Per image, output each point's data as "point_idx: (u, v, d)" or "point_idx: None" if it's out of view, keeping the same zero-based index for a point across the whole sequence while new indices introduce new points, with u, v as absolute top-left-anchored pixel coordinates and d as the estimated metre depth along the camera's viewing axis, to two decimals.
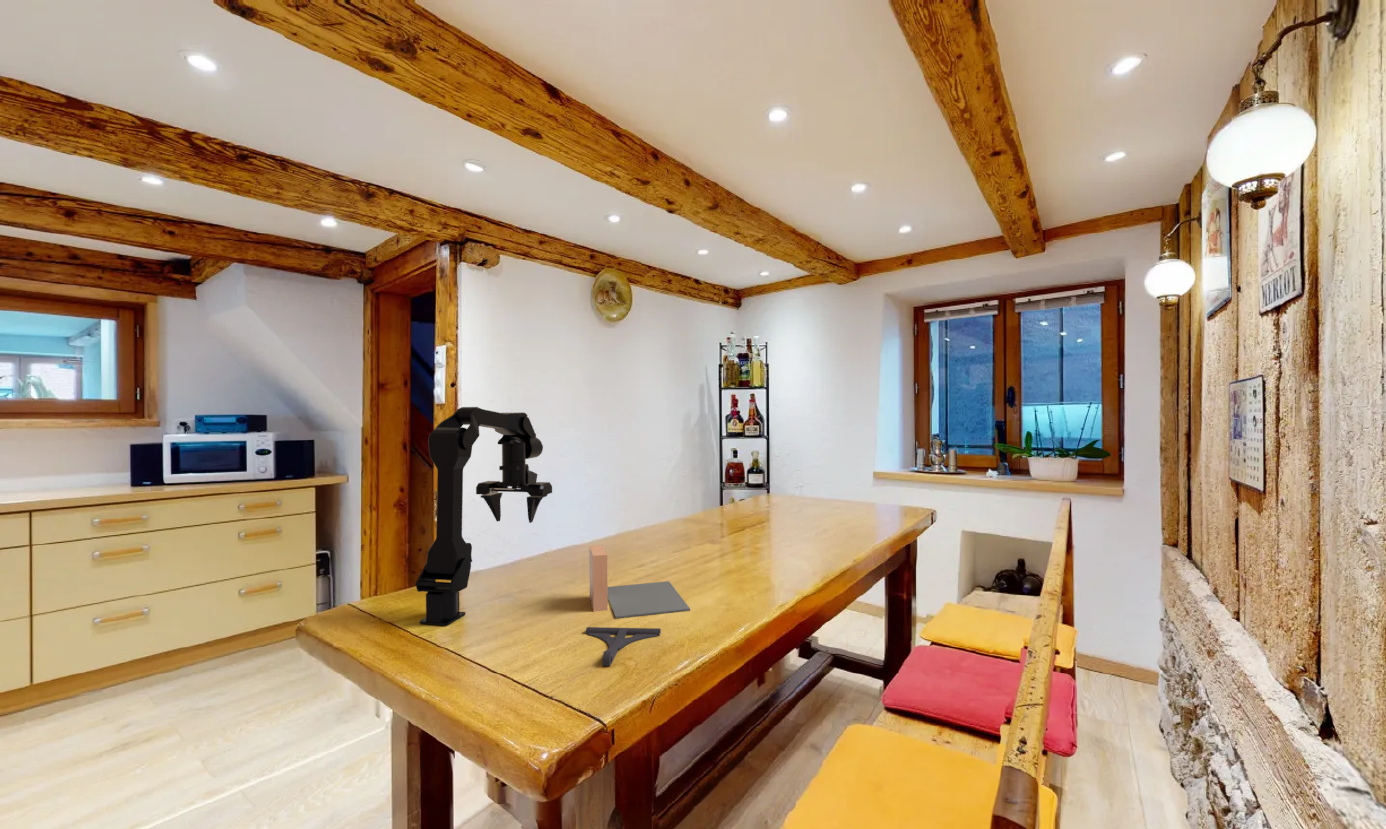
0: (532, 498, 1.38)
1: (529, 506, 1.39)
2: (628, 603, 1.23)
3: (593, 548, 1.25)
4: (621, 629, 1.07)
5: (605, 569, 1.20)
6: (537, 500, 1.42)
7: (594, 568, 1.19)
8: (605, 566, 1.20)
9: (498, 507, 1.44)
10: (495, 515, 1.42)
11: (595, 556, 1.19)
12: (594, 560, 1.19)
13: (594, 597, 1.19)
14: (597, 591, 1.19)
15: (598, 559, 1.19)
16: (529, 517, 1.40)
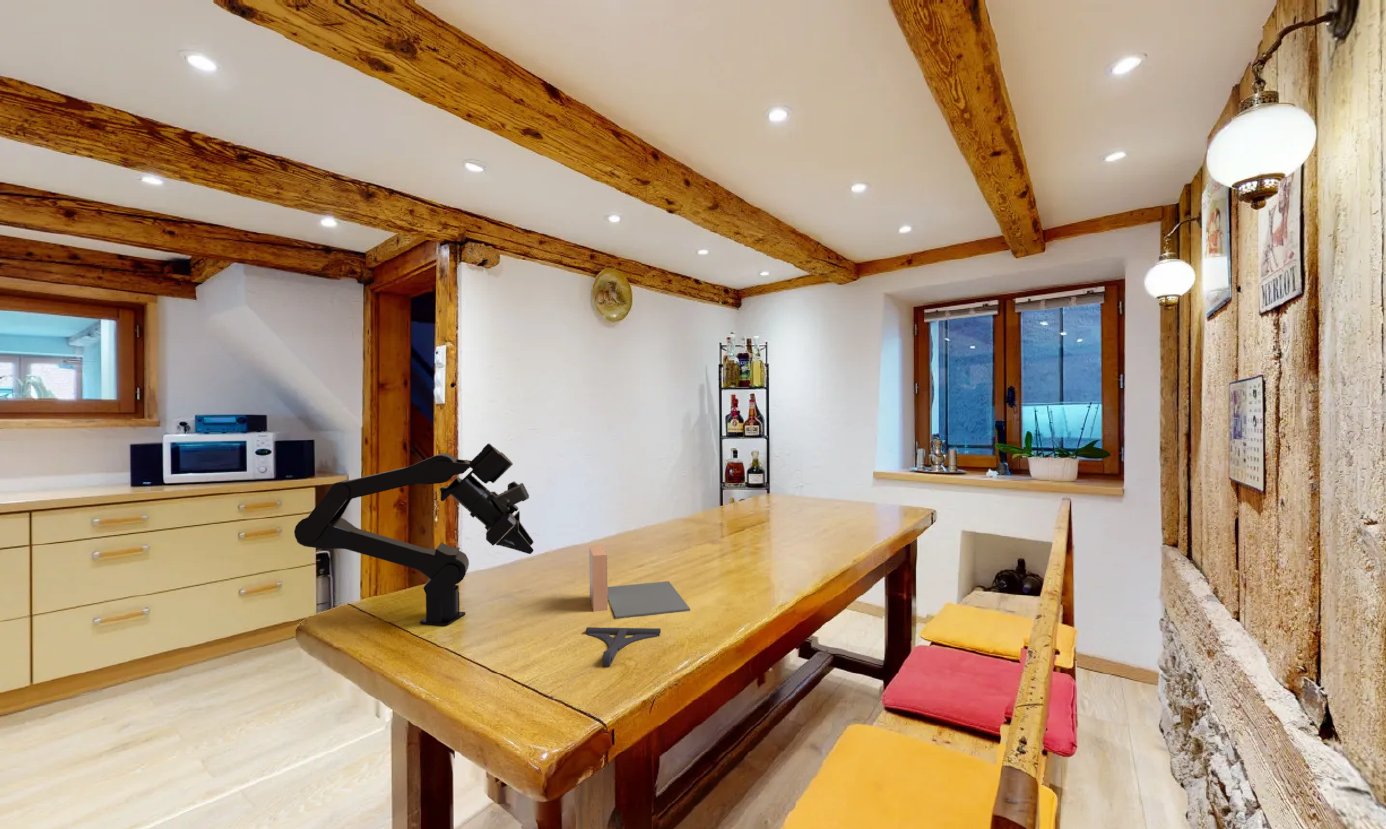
0: None
1: None
2: (628, 603, 1.23)
3: (593, 548, 1.25)
4: (621, 629, 1.06)
5: (605, 569, 1.20)
6: (514, 533, 1.14)
7: (594, 568, 1.19)
8: (605, 566, 1.20)
9: (520, 533, 1.23)
10: None
11: (595, 556, 1.19)
12: (594, 560, 1.19)
13: (594, 597, 1.19)
14: (597, 591, 1.19)
15: (598, 559, 1.19)
16: None
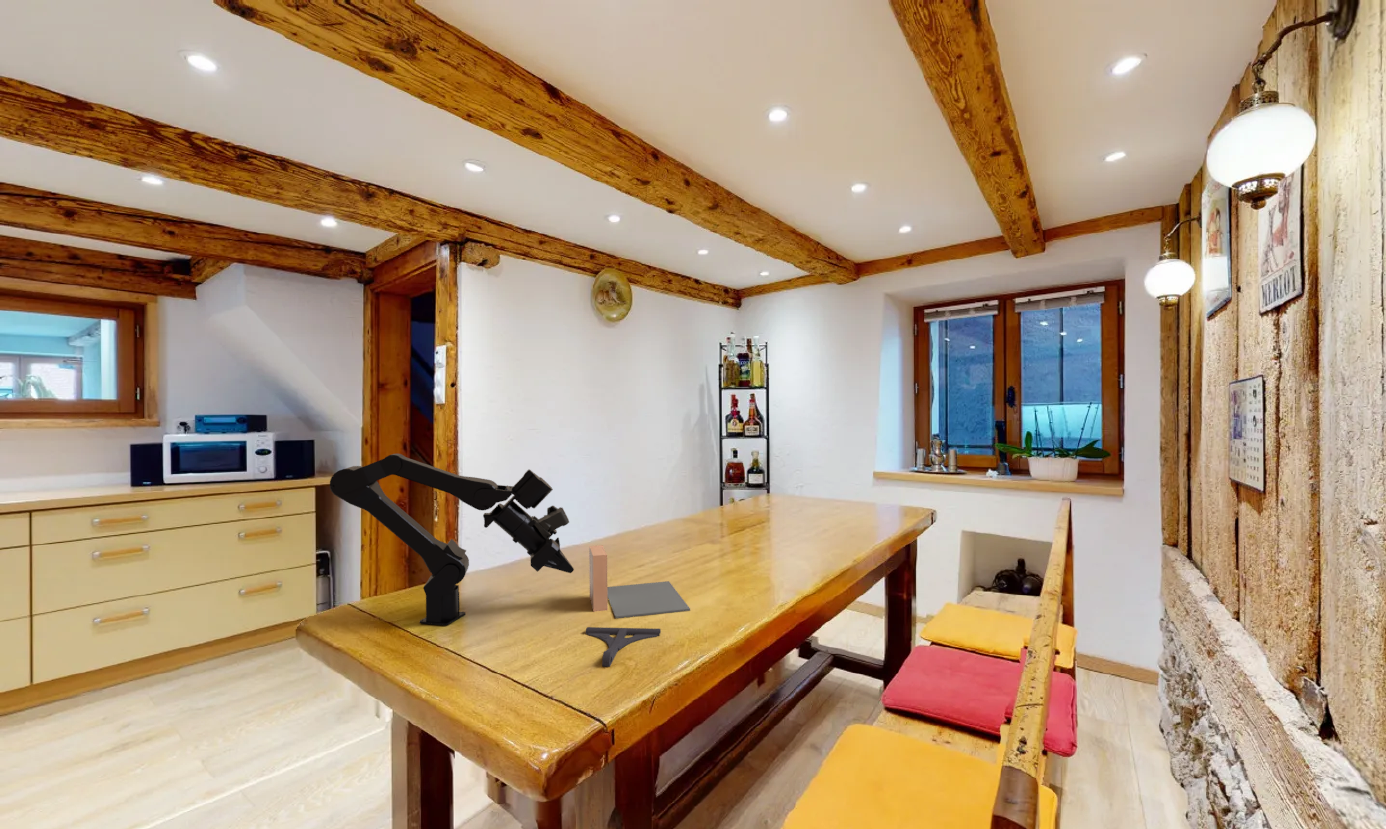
0: None
1: None
2: (628, 603, 1.23)
3: (593, 548, 1.25)
4: (621, 629, 1.06)
5: (605, 569, 1.20)
6: (556, 554, 1.20)
7: (594, 568, 1.19)
8: (605, 566, 1.20)
9: None
10: None
11: (595, 556, 1.19)
12: (594, 560, 1.19)
13: (594, 597, 1.19)
14: (597, 591, 1.19)
15: (598, 559, 1.19)
16: None
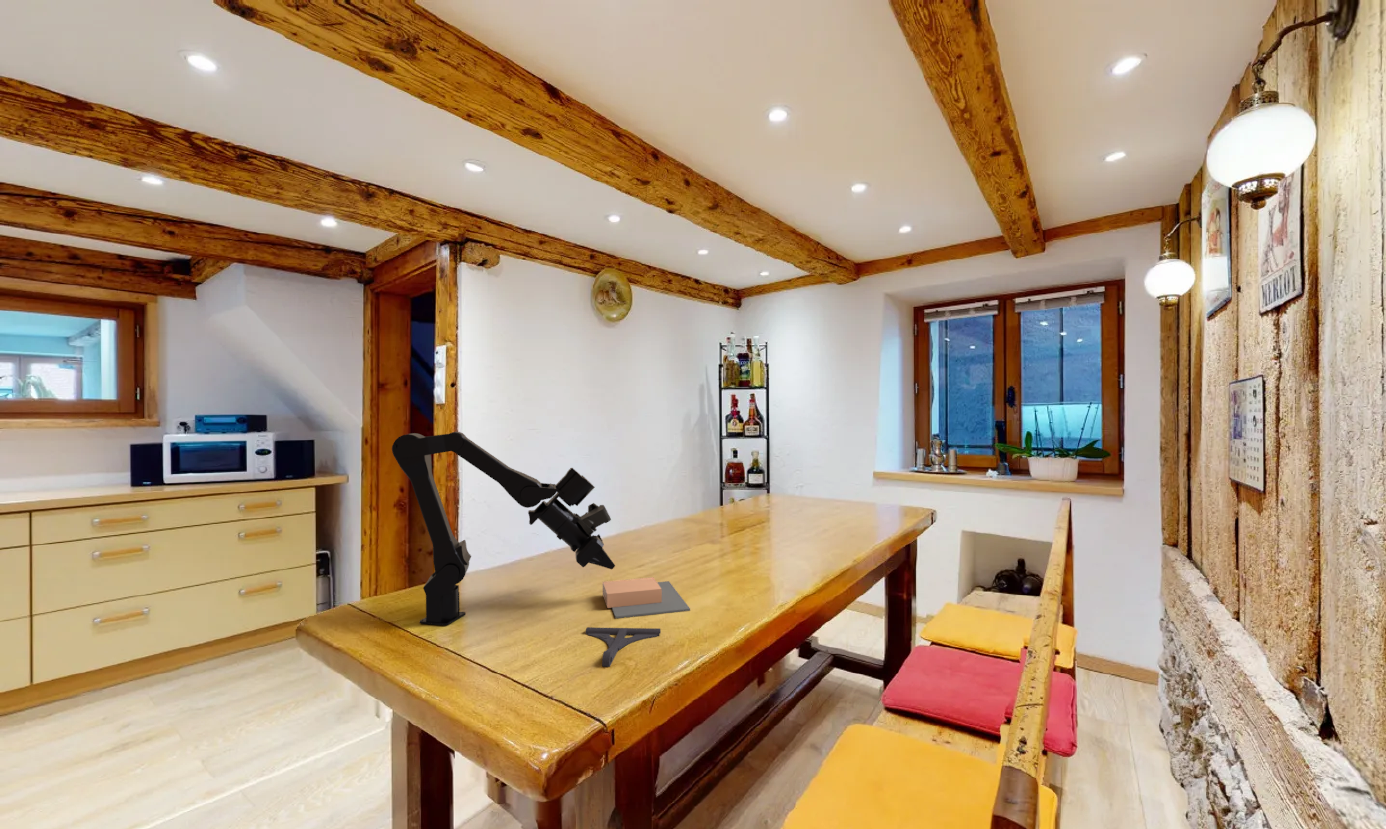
0: None
1: None
2: None
3: None
4: (621, 629, 1.06)
5: (647, 602, 1.22)
6: (598, 550, 1.22)
7: (649, 591, 1.22)
8: (650, 601, 1.22)
9: None
10: None
11: (660, 591, 1.23)
12: (657, 590, 1.23)
13: (621, 593, 1.21)
14: (627, 595, 1.21)
15: (657, 594, 1.23)
16: None
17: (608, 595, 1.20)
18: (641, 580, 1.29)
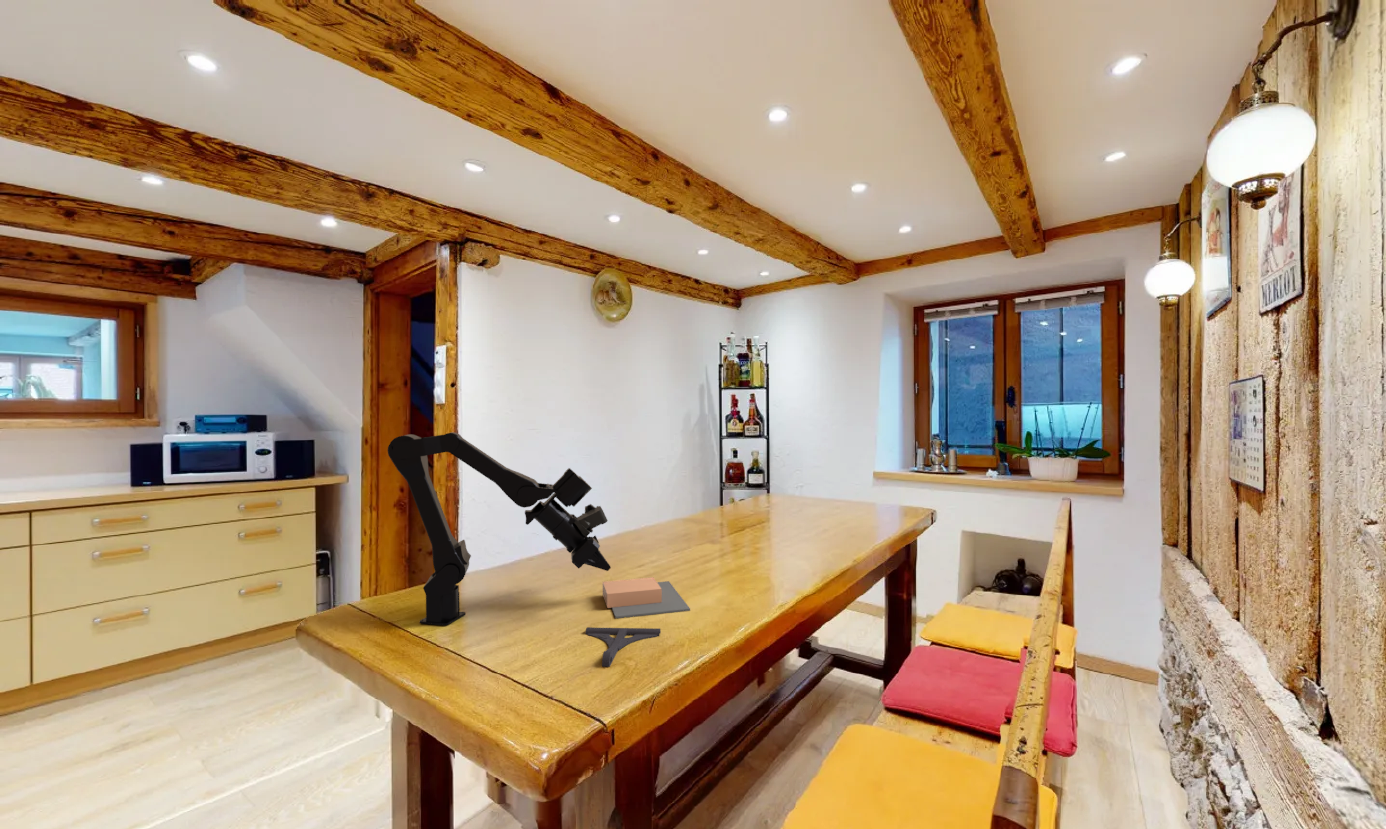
0: None
1: None
2: None
3: None
4: (621, 629, 1.06)
5: (647, 602, 1.22)
6: (594, 551, 1.22)
7: (649, 591, 1.22)
8: (650, 601, 1.22)
9: None
10: None
11: (660, 591, 1.23)
12: (657, 590, 1.23)
13: (621, 593, 1.21)
14: (627, 595, 1.21)
15: (657, 594, 1.23)
16: (601, 568, 1.23)
17: (608, 595, 1.20)
18: (641, 580, 1.29)
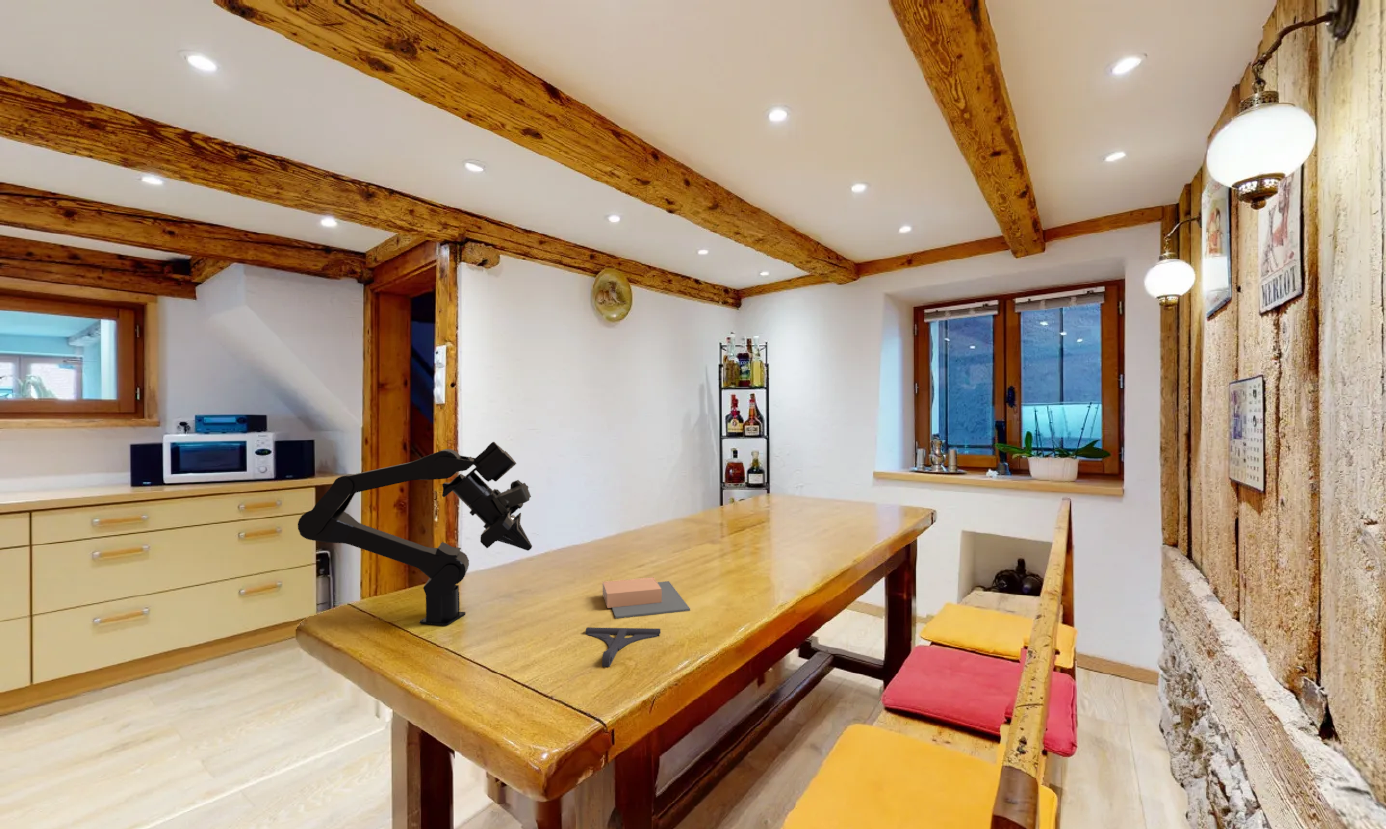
0: None
1: None
2: None
3: None
4: (621, 629, 1.06)
5: (647, 602, 1.22)
6: (513, 530, 1.17)
7: (649, 591, 1.22)
8: (650, 601, 1.22)
9: None
10: None
11: (660, 591, 1.23)
12: (657, 590, 1.23)
13: (621, 593, 1.21)
14: (627, 595, 1.21)
15: (657, 594, 1.23)
16: None
17: (608, 595, 1.20)
18: (641, 580, 1.29)
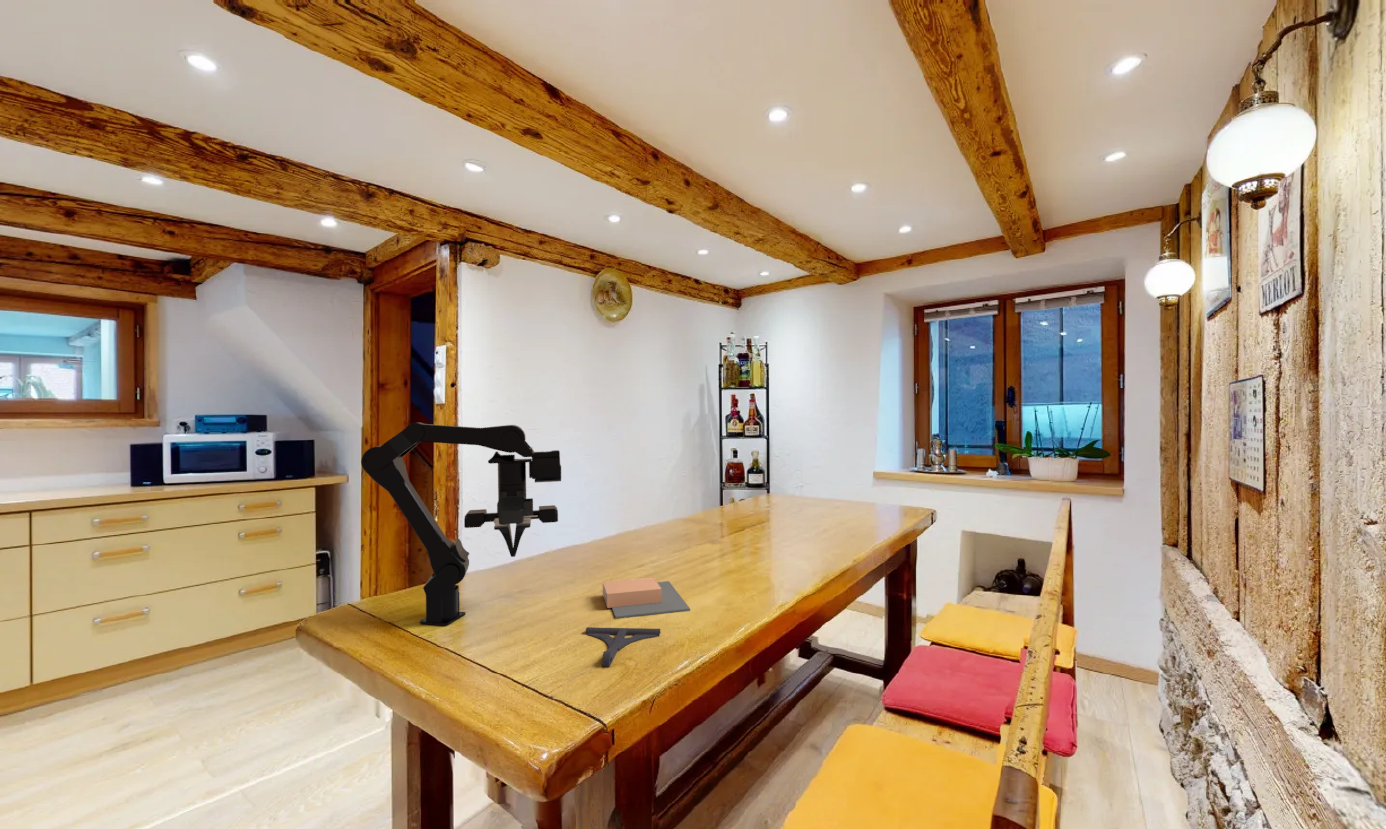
0: None
1: None
2: None
3: None
4: (621, 629, 1.06)
5: (647, 602, 1.22)
6: None
7: (649, 591, 1.22)
8: (650, 601, 1.22)
9: None
10: None
11: (660, 591, 1.23)
12: (657, 590, 1.23)
13: (621, 593, 1.21)
14: (627, 595, 1.21)
15: (657, 594, 1.23)
16: None
17: (608, 595, 1.20)
18: (641, 580, 1.29)
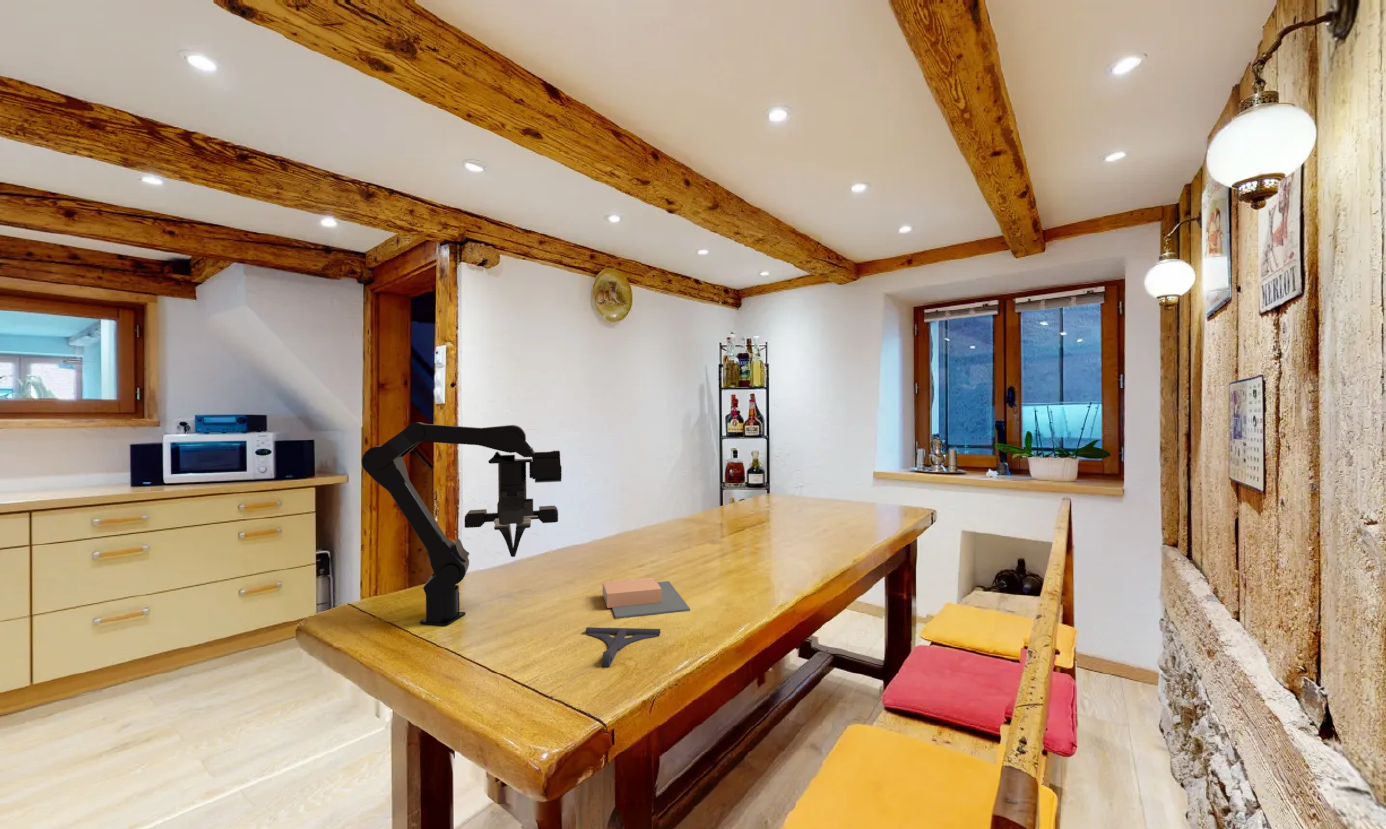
0: None
1: None
2: None
3: None
4: (621, 629, 1.06)
5: (647, 602, 1.22)
6: None
7: (649, 591, 1.22)
8: (650, 601, 1.22)
9: None
10: None
11: (660, 591, 1.23)
12: (657, 590, 1.23)
13: (621, 593, 1.21)
14: (627, 595, 1.21)
15: (657, 594, 1.23)
16: None
17: (608, 595, 1.20)
18: (641, 580, 1.29)
